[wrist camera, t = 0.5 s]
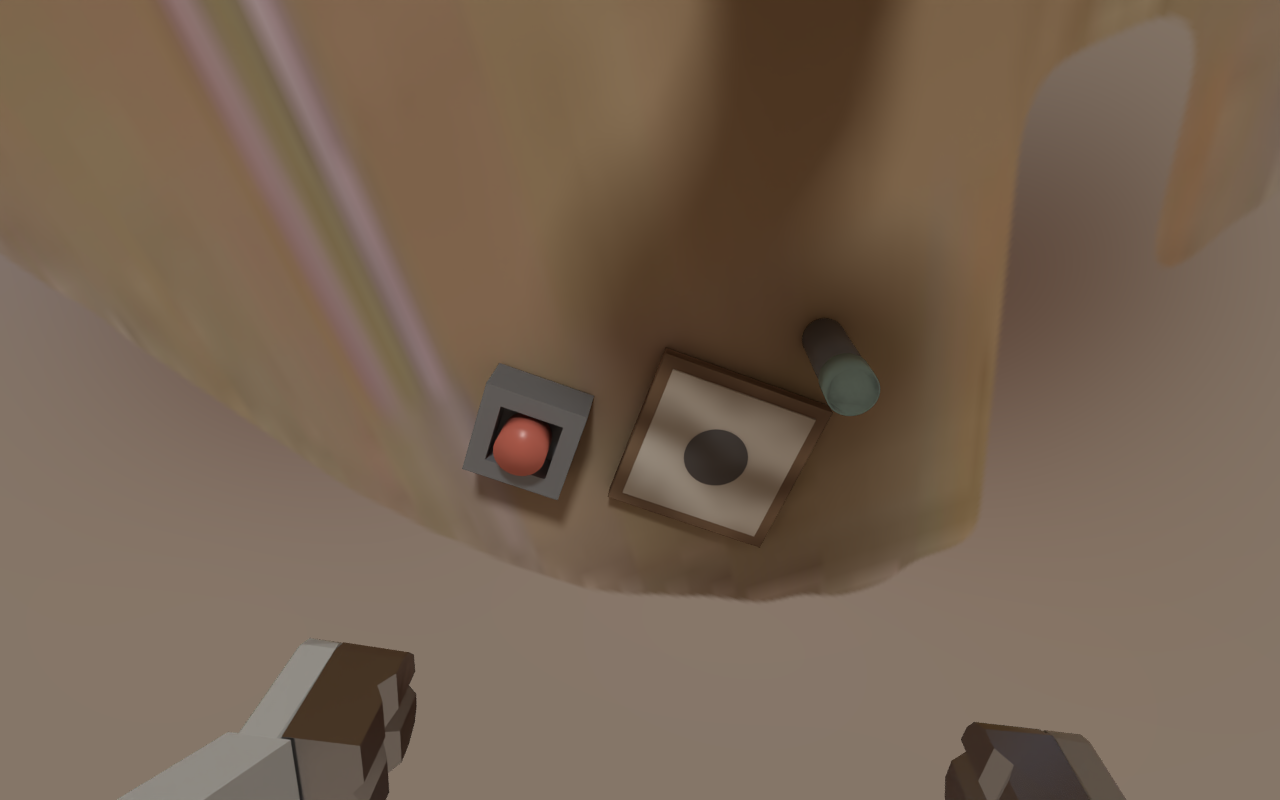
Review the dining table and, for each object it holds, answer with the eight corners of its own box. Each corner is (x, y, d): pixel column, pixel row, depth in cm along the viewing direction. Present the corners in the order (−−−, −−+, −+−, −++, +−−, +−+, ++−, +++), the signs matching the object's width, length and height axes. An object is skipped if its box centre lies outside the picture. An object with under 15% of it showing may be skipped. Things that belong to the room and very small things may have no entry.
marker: (812, 310, 51) (840, 359, 42) (853, 325, 51) (890, 377, 42) (793, 350, 53) (816, 405, 43) (833, 364, 53) (864, 422, 44)
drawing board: (665, 347, 53) (665, 354, 52) (829, 406, 54) (833, 414, 53) (609, 489, 59) (607, 498, 58) (758, 539, 60) (760, 549, 59)
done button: (509, 405, 53) (500, 422, 50) (558, 422, 54) (551, 440, 51) (497, 447, 55) (487, 466, 52) (544, 463, 55) (537, 482, 52)
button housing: (499, 363, 54) (486, 382, 51) (594, 395, 55) (587, 417, 52) (476, 444, 58) (462, 468, 54) (565, 474, 58) (557, 500, 55)
